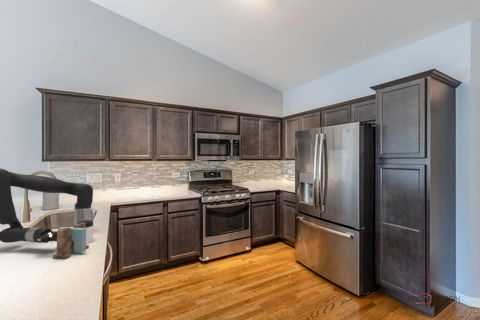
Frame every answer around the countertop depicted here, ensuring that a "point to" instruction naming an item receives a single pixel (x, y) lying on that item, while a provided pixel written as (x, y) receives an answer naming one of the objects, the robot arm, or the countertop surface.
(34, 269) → the countertop surface
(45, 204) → the cylinder vase
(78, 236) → the teal rectangular panel
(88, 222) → the jar
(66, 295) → the countertop surface
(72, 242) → the brown wooden u-shaped piece
